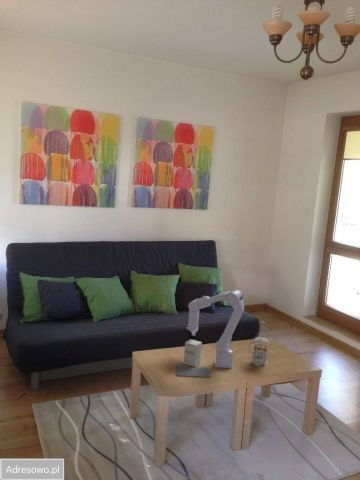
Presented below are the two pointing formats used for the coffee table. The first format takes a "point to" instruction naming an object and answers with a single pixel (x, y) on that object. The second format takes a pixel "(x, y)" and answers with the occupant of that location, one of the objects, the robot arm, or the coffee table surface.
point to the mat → (192, 371)
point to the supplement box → (192, 352)
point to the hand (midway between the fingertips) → (191, 342)
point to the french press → (259, 359)
